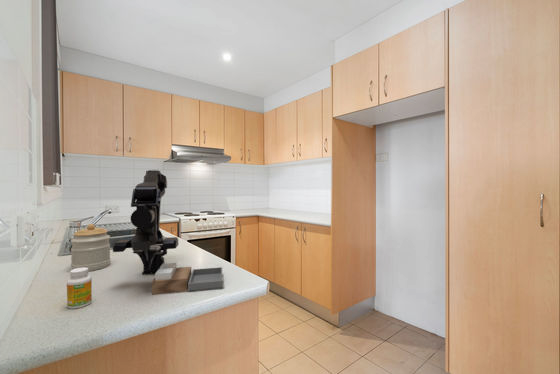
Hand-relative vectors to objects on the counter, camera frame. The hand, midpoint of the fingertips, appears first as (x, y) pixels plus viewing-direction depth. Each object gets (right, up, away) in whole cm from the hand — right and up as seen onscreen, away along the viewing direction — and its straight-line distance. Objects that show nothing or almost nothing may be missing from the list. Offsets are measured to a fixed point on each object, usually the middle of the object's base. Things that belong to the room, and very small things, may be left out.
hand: (147, 270), depth 85 cm
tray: (+19, -5, +2) cm, 20 cm away
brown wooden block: (+9, -5, -1) cm, 10 cm away
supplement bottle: (-12, -5, -14) cm, 19 cm away
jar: (-33, -5, +19) cm, 38 cm away
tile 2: (+8, -1, -4) cm, 9 cm away
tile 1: (+6, -1, +1) cm, 7 cm away
